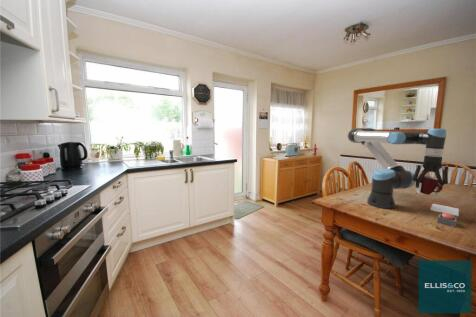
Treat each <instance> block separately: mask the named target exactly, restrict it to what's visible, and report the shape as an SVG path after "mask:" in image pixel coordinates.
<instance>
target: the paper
mask: <svg viewBox="0 0 476 317" xmlns="http://www.w3.org/2000/svg"><path fill="white" fill-rule="evenodd" d="M429 209H430V211H433V212H438V213H440V214H442V213H449V214H452V215H454V217H455V216H456V217H459V214H460V208H457V207H451V206H448V205H447V206H446V205H441V204H437V203H432V205H431V207H430V208H429Z"/></svg>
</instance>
